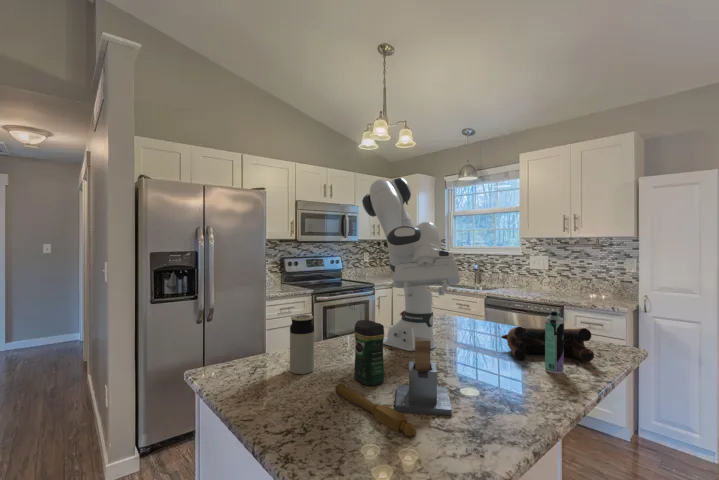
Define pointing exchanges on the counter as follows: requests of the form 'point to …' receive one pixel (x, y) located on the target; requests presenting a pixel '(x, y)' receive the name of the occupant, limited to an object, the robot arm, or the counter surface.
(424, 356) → the column
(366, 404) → the tap handle
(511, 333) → the stuffed animal
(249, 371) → the counter surface
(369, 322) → the coffee jar
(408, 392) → the stand
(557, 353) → the spray can
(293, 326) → the travel mug
